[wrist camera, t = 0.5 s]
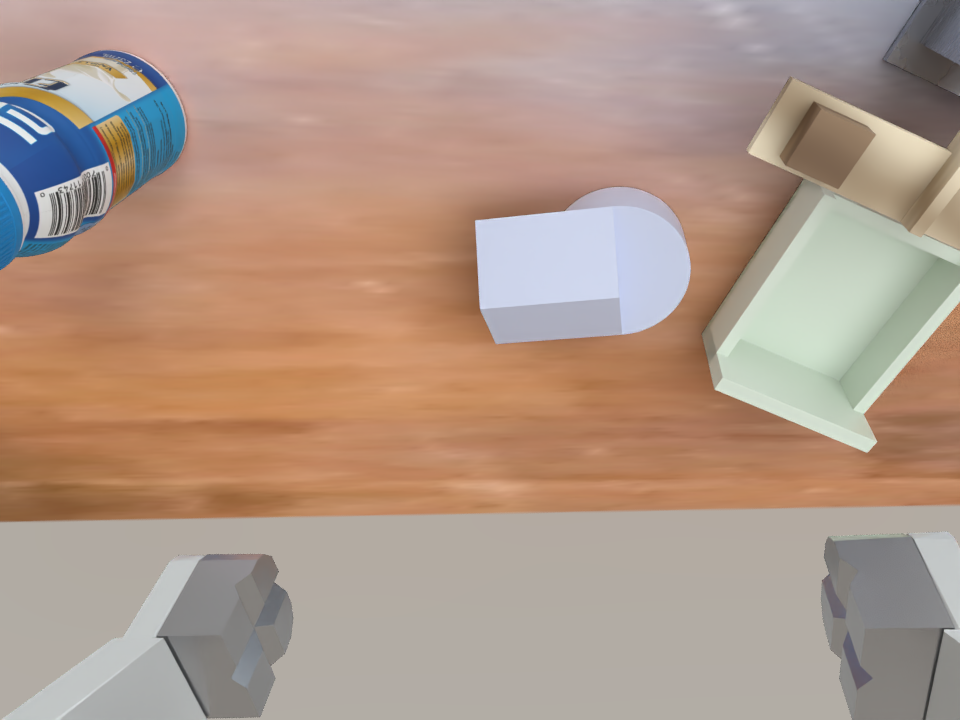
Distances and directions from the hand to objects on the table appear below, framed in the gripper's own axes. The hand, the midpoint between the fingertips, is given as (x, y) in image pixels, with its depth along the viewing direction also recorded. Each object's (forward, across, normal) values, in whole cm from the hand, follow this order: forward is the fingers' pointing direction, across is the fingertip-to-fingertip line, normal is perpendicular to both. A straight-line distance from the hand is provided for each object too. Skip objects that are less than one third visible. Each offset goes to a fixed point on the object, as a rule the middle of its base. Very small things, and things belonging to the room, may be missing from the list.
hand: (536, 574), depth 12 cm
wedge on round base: (+38, +7, +14) cm, 41 cm away
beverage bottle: (+42, +29, 0) cm, 51 cm away
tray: (+42, -15, +18) cm, 48 cm away
